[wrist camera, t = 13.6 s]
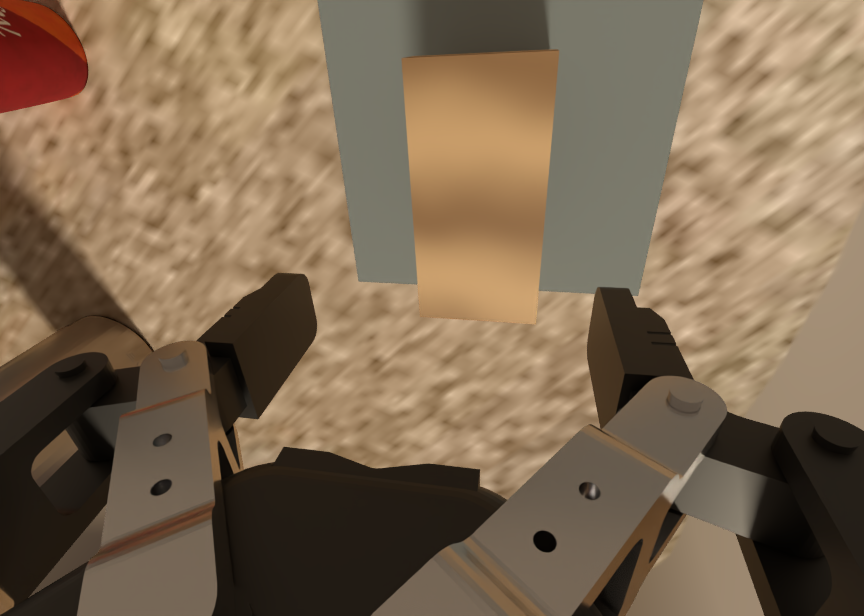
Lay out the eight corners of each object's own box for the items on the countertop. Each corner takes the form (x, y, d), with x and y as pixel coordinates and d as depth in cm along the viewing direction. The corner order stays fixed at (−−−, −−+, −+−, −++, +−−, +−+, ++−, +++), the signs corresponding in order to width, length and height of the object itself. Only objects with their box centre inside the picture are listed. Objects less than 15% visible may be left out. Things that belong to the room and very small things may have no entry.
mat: (361, 277, 35) (358, 281, 34) (320, -6, 25) (316, -6, 25) (636, 291, 31) (638, 295, 30) (707, -35, 22) (711, -36, 21)
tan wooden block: (441, 51, 25) (401, 58, 18) (551, 45, 24) (559, 50, 16) (447, 248, 31) (420, 316, 24) (535, 251, 30) (535, 324, 23)
